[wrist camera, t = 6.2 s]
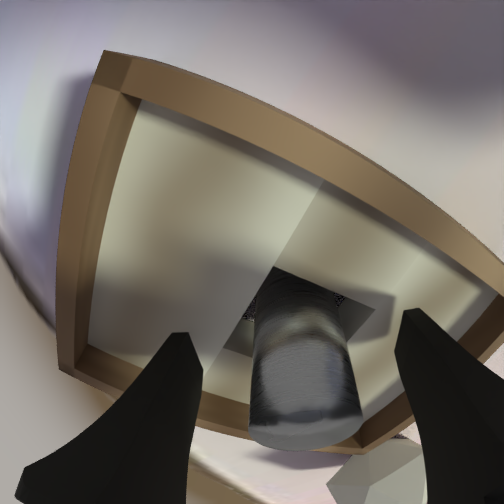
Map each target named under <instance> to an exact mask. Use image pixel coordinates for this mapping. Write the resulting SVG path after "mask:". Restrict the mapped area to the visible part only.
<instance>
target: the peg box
mask: <svg viewBox="0 0 504 504" xmlns="http://www.w3.org/2000/svg"><path fill="white" fill-rule="evenodd" d="M273 266H275V267H277V268H279V269H282V270H284V271H286V272H289V273H291V274H293V275H296V276H298V277H300V278H303V279H305V280H307V281H310V282H312V283H315V284H317V285H319V286H322V287H324V288H326V289H329V290H331V291H333V292H336V293H338V294H340V295H343V296H345V297H346V298H345V300H344V301H343V302H342V303H341V305H340V306H339V307H338V312H339V315H340V319H341V323H342V327H343V331H344V335H345V339H346V343H347V347H348V351H349V355H350V359H351V363H352V368H353V372H354V376H355V381H356V385H357V390H358V394H359V399H360V404H361V409H362V413H363V424H362V426H361V427H360V428H359V430H358V431H357V432H356V433H354V434H353V435H352V436H350V437H349V438H347V439H345V440H343V441H341V442H339V443H337V444H334V445H331V446H328V447H324V448H320V449H314V450H312V451H320V452H330V453H341V454H354V455H364V454H366V453H368V452H369V451H371V450H373V449H374V448H376V447H378V446H379V445H381V444H382V443H384V442H386V441H387V440H389V439H390V438H392V437H393V436H395V435H396V434H398V433H399V432H401V431H402V430H404V429H405V428H407V427H408V426H409V425H411V424H412V423H414V422H415V418H414V415H413V412H412V409H411V406H410V404H409V401H408V398H407V395H406V392H405V389H404V387H403V384H402V381H401V378H400V375H399V371H398V367H397V363H396V358H395V354H394V349H395V345H396V341H397V337H398V333H399V328H400V324H401V319H402V315H403V310H408V309H414V308H420V309H421V310H423V311H424V312H425V313H426V314H427V315H428V316H429V317H430V318H431V319H433V320H434V321H435V322H436V323H437V324H438V325H439V326H440V327H441V328H442V329H443V330H444V331H446V332H447V333H448V334H449V335H450V336H451V337H452V338H453V339H454V340H455V341H456V342H458V343H459V344H460V345H461V346H462V347H463V348H464V349H465V350H467V351H468V352H469V353H470V354H471V355H472V356H474V357H475V358H476V359H477V360H479V361H480V362H481V363H482V364H484V363H485V362H486V361H487V360H488V359H489V358H490V356H491V355H492V354H493V353H494V352H495V351H496V350H497V349H498V348H499V347H500V346H501V345H502V344H503V343H504V263H503V262H502V261H501V260H500V259H499V258H498V257H497V256H496V255H495V254H494V253H493V252H492V251H490V250H489V249H488V248H487V247H486V246H485V245H484V244H483V243H482V242H480V241H479V240H478V239H477V238H476V237H475V236H474V235H472V234H471V233H470V232H469V231H468V230H467V229H465V228H464V227H463V226H462V225H461V224H459V223H458V222H457V221H456V220H454V219H453V218H452V217H451V216H449V215H448V214H447V213H446V212H444V211H443V210H442V209H441V208H439V207H438V206H437V205H435V204H434V203H433V202H431V201H430V200H429V199H427V198H426V197H425V196H423V195H422V194H421V193H419V192H418V191H416V190H415V189H414V188H412V187H411V186H409V185H408V184H407V183H405V182H404V181H402V180H401V179H399V178H398V177H396V176H395V175H393V174H392V173H390V172H389V171H387V170H386V169H384V168H383V167H381V166H380V165H378V164H377V163H375V162H374V161H372V160H370V159H369V158H367V157H366V156H364V155H362V154H361V153H359V152H357V151H356V150H354V149H352V148H351V147H349V146H347V145H346V144H344V143H342V142H341V141H339V140H337V139H335V138H334V137H332V136H330V135H328V134H326V133H325V132H323V131H321V130H319V129H317V128H315V127H314V126H312V125H310V124H308V123H306V122H304V121H302V120H300V119H298V118H296V117H294V116H292V115H290V114H288V113H286V112H284V111H282V110H280V109H278V108H276V107H274V106H272V105H270V104H268V103H265V102H263V101H261V100H259V99H257V98H254V97H252V96H250V95H248V94H245V93H243V92H241V91H238V90H236V89H234V88H231V87H229V86H226V85H224V84H221V83H219V82H216V81H214V80H211V79H208V78H206V77H203V76H200V75H198V74H195V73H192V72H189V71H187V70H184V69H181V68H178V67H175V66H172V65H169V64H166V63H162V62H159V61H156V60H152V59H147V58H143V57H138V56H134V55H129V54H124V53H118V52H113V51H107V50H104V51H103V54H102V56H101V59H100V61H99V64H98V66H97V69H96V72H95V75H94V78H93V80H92V83H91V86H90V89H89V92H88V95H87V99H86V102H85V105H84V108H83V112H82V115H81V119H80V123H79V126H78V130H77V134H76V138H75V142H74V146H73V151H72V155H71V160H70V165H69V170H68V175H67V180H66V186H65V192H64V198H63V205H62V212H61V220H60V229H59V239H58V251H57V267H56V339H57V354H58V365H59V370H61V371H63V372H65V373H67V374H68V375H71V376H72V377H74V378H76V379H79V380H80V381H82V382H84V383H86V384H89V385H90V386H93V387H95V388H97V389H99V390H101V391H103V392H105V393H108V394H110V395H112V396H114V397H117V398H119V397H120V396H121V395H122V394H123V393H124V392H125V391H126V389H127V388H128V387H129V386H130V385H131V384H132V383H133V381H134V380H135V379H136V378H137V377H138V375H139V374H140V373H141V372H142V370H143V369H144V368H145V367H146V365H147V364H148V363H149V361H150V360H151V359H152V358H153V356H154V355H155V354H156V352H157V351H158V350H159V348H160V347H161V346H162V344H163V343H164V342H165V341H166V339H167V338H168V337H169V336H170V334H171V333H172V332H189V335H190V337H191V340H192V342H193V345H194V347H195V350H196V353H197V355H198V358H199V360H200V363H201V365H202V367H203V370H204V371H203V384H202V395H201V400H200V405H199V410H198V415H197V419H196V424H195V426H197V427H201V428H204V429H208V430H211V431H215V432H219V433H223V434H227V435H231V436H235V437H239V438H243V439H248V440H252V441H254V440H253V439H252V438H251V437H250V435H249V433H248V423H249V407H250V390H251V373H252V356H253V338H254V322H251V321H249V320H246V319H243V318H241V317H242V316H243V314H244V313H245V311H246V309H247V308H248V306H249V304H250V303H251V301H252V300H253V298H254V296H255V295H256V293H257V291H258V290H259V288H260V287H261V285H262V283H263V282H264V280H265V278H266V277H267V275H268V274H269V272H270V270H271V269H272V267H273Z"/></svg>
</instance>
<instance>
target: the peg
mask: <svg viewBox="0 0 504 504" xmlns="http://www.w3.org/2000/svg"><path fill="white" fill-rule="evenodd" d="M362 424H363V413H362V409H361V404H360V399H359V394H358V390H357V385H356V381H355V376H354V372H353V368H352V363H351V359H350V355H349V351H348V347H347V343H346V339H345V335H344V331H343V327H342V323H341V319H340V315H339V312H338V308H337V304H336V301H335V297H334V293H333V291H331V290H329V289H326V288H324V287H322V286H319V285H317V284H315V283H312V282H310V281H307V280H305V279H303V278H300V277H298V276H296V275H293V274H291V273H289V272H286V271H284V270H282V269H279V268H277V267H275V266H273V267H272V269H271V270H270V272H269V274H268V275H267V277H266V278H265V280H264V282H263V283H262V285H261V287H260V288H259V290H258V291H257V293H256V303H255V321H254V338H253V356H252V373H251V390H250V407H249V423H248V433H249V435H250V437H251V438H252V439H253V440H254V441H256V442H257V443H259V444H261V445H263V446H266V447H269V448H273V449H278V450H285V451H306V450H314V449H320V448H324V447H328V446H331V445H334V444H337V443H339V442H341V441H343V440H345V439H347V438H349V437H350V436H352V435H353V434H354V433H356V432H357V431H358V430H359V428H360V427H361V426H362Z"/></svg>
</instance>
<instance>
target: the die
mask: <svg viewBox="0 0 504 504" xmlns="http://www.w3.org/2000/svg"><path fill="white" fill-rule="evenodd" d="M326 485H327V487H328V489H329V490H330V492H331V494H332V496H333V497H334V499H335V501H336V503H337V504H426V502H427V483H426V472H425V464H424V456H423V450H422V446H421V445H419V444H417V443H416V442H414V441H412V440H410V439H400V438H390V439H389V440H387V441H386V442H384V443H382V444H381V445H379V446H378V447H376V448H374V449H373V450H371V451H369V452H368V453H366V454H364V455H354V454H353V455H352V456H351V458H350V459H349V460H348V461H347V462H346V463H345V464H344V465H343V467H342V468H341V469H340V470H339V471H338V472H337V473H336V474H335V475H334V476H333V477H332V478H331V479H330V480H329V481H328V483H327V484H326Z"/></svg>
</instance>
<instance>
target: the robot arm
mask: <svg viewBox="0 0 504 504" xmlns="http://www.w3.org/2000/svg"><path fill="white" fill-rule="evenodd" d="M394 354H395V358H396V363H397V367H398V371H399V375H400V378H401V381H402V384H403V387H404V389H405V392H406V395H407V398H408V401H409V404H410V406H411V409H412V412H413V415H414V418H415V421H416V424H417V427H418V431H419V435H420V439H421V445H422V450H423V456H424V464H425V472H426V483H427V504H504V379H502V378H501V377H500V376H498V375H497V374H495V373H494V372H492V371H491V370H490V369H488V368H487V367H486V366H485V365H483V364H482V363H481V362H480V361H479V360H477V359H476V358H475V357H474V356H472V355H471V354H470V353H469V352H468V351H467V350H465V349H464V348H463V347H462V346H461V345H460V344H459V343H458V342H456V341H455V340H454V339H453V338H452V337H451V336H450V335H449V334H448V333H447V332H446V331H444V330H443V329H442V328H441V327H440V326H439V325H438V324H437V323H436V322H435V321H434V320H433V319H431V318H430V317H429V316H428V315H427V314H426V313H425V312H424V311H423V310H421V309H420V308H414V309H408V310H403V315H402V319H401V324H400V328H399V333H398V337H397V341H396V345H395V349H394ZM203 371H204V370H203V367H202V365H201V363H200V360H199V358H198V355H197V353H196V350H195V347H194V345H193V342H192V340H191V337H190V335H189V332H172V333H171V334H170V336H169V337H168V338H167V339H166V341H165V342H164V343H163V344H162V346H161V347H160V348H159V350H158V351H157V352H156V354H155V355H154V356H153V358H152V359H151V360H150V361H149V363H148V364H147V365H146V367H145V368H144V369H143V370H142V372H141V373H140V374H139V375H138V377H137V378H136V379H135V380H134V381H133V383H132V384H131V385H130V386H129V387H128V388H127V389H126V391H125V392H124V393H123V394H122V395H121V396H120V397H119V399H118V400H117V401H116V402H115V403H114V404H113V405H112V406H111V407H110V408H109V409H108V410H107V411H106V412H105V413H104V414H103V415H102V416H101V417H100V418H99V419H97V420H96V421H95V422H94V423H93V424H92V425H90V426H89V427H88V428H87V429H85V430H84V431H83V432H82V433H80V434H79V435H78V436H77V437H76V438H74V439H73V440H71V441H70V442H68V443H67V444H66V445H64V446H63V447H61V448H59V449H58V450H56V451H55V452H54V453H51V454H50V455H48V456H46V457H45V458H43V459H40V460H38V461H37V462H35V463H33V464H31V465H29V466H26V467H25V468H24V470H23V473H22V476H21V478H20V481H19V484H18V487H17V490H16V493H15V497H16V499H17V500H19V501H20V502H22V503H24V504H186V485H187V472H188V460H189V453H190V447H191V442H192V438H193V433H194V428H195V424H196V419H197V415H198V410H199V405H200V400H201V395H202V384H203Z"/></svg>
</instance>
